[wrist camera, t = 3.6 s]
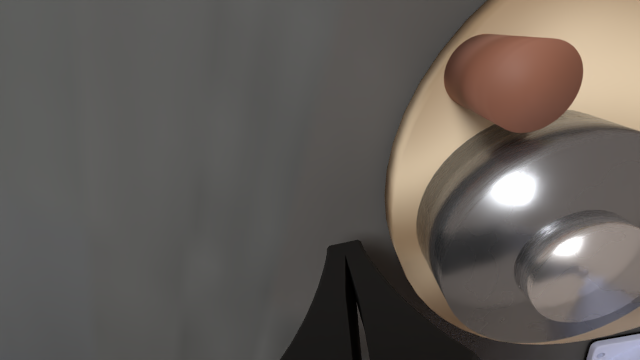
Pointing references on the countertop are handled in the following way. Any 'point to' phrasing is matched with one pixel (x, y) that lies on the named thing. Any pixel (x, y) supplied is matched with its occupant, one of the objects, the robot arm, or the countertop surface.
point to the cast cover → (537, 229)
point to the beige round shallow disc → (511, 104)
